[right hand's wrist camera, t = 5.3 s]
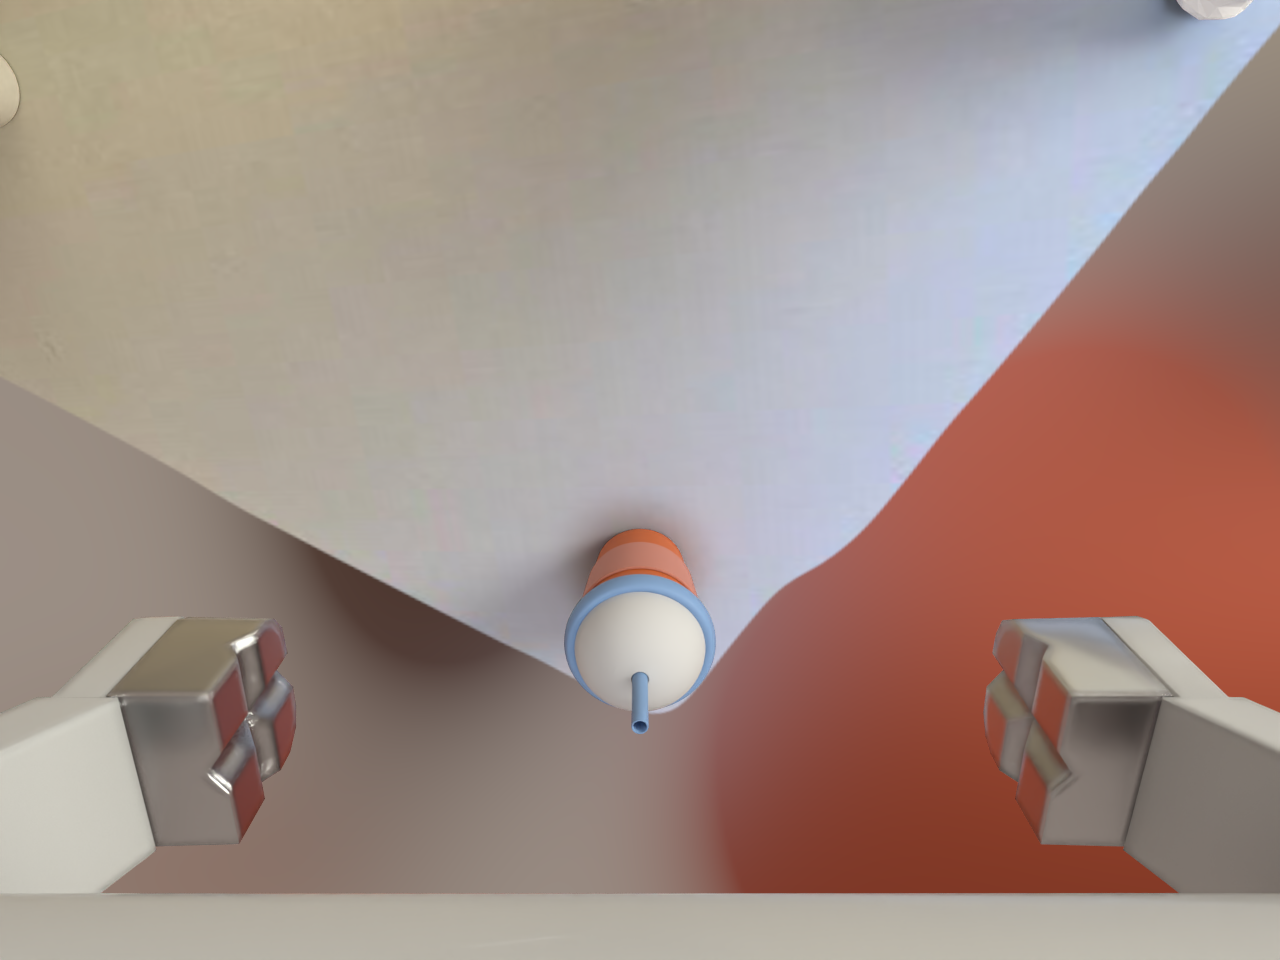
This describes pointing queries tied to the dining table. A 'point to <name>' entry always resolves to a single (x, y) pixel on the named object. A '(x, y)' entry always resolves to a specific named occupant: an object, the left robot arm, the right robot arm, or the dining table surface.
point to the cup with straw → (640, 627)
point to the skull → (1214, 8)
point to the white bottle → (8, 93)
